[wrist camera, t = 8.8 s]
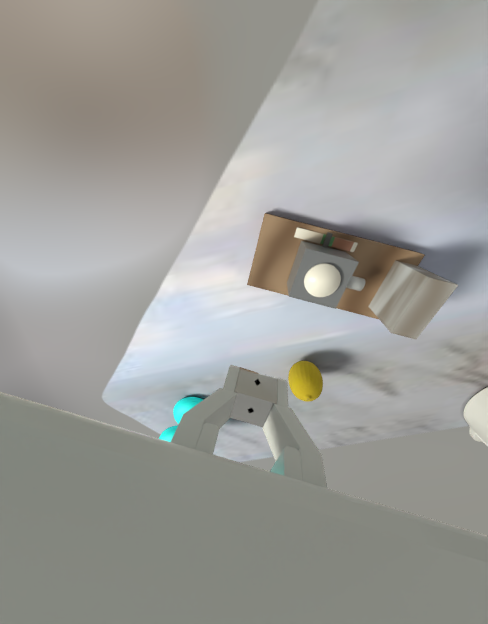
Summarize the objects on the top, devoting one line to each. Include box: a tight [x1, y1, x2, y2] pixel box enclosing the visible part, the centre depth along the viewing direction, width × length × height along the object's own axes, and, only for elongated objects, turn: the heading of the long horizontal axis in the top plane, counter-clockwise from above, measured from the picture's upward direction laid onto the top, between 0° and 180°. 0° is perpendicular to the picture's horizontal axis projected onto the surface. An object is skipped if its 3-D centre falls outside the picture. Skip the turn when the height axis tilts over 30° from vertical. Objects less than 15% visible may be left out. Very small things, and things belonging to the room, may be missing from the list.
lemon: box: [288, 361, 323, 401], centre depth 36 cm, size 6×6×8 cm
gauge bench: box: [247, 213, 458, 339], centre depth 27 cm, size 21×10×8 cm, turn 77°
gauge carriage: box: [287, 232, 365, 309], centre depth 26 cm, size 9×8×5 cm
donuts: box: [159, 397, 204, 442], centre depth 45 cm, size 10×10×10 cm
